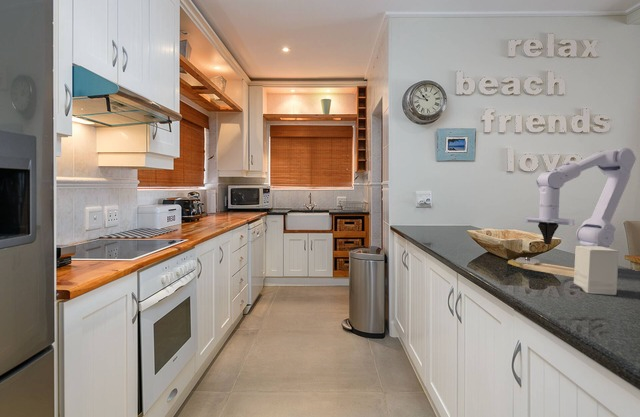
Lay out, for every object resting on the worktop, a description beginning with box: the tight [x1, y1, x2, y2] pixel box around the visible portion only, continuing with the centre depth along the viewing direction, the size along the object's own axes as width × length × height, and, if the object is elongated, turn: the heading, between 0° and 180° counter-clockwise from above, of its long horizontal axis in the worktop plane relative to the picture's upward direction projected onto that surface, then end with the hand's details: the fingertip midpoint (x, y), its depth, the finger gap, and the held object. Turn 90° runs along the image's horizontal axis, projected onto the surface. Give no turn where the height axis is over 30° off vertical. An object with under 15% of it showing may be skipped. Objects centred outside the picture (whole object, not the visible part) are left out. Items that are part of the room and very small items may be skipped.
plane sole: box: [519, 262, 575, 278], centre depth 114 cm, size 7×17×2 cm, turn 39°
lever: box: [507, 258, 525, 268], centre depth 122 cm, size 4×1×5 cm
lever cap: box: [515, 256, 540, 265], centre depth 119 cm, size 5×6×2 cm
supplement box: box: [573, 245, 620, 296], centre depth 95 cm, size 7×7×13 cm
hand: (547, 243), depth 117 cm, fingers closed
